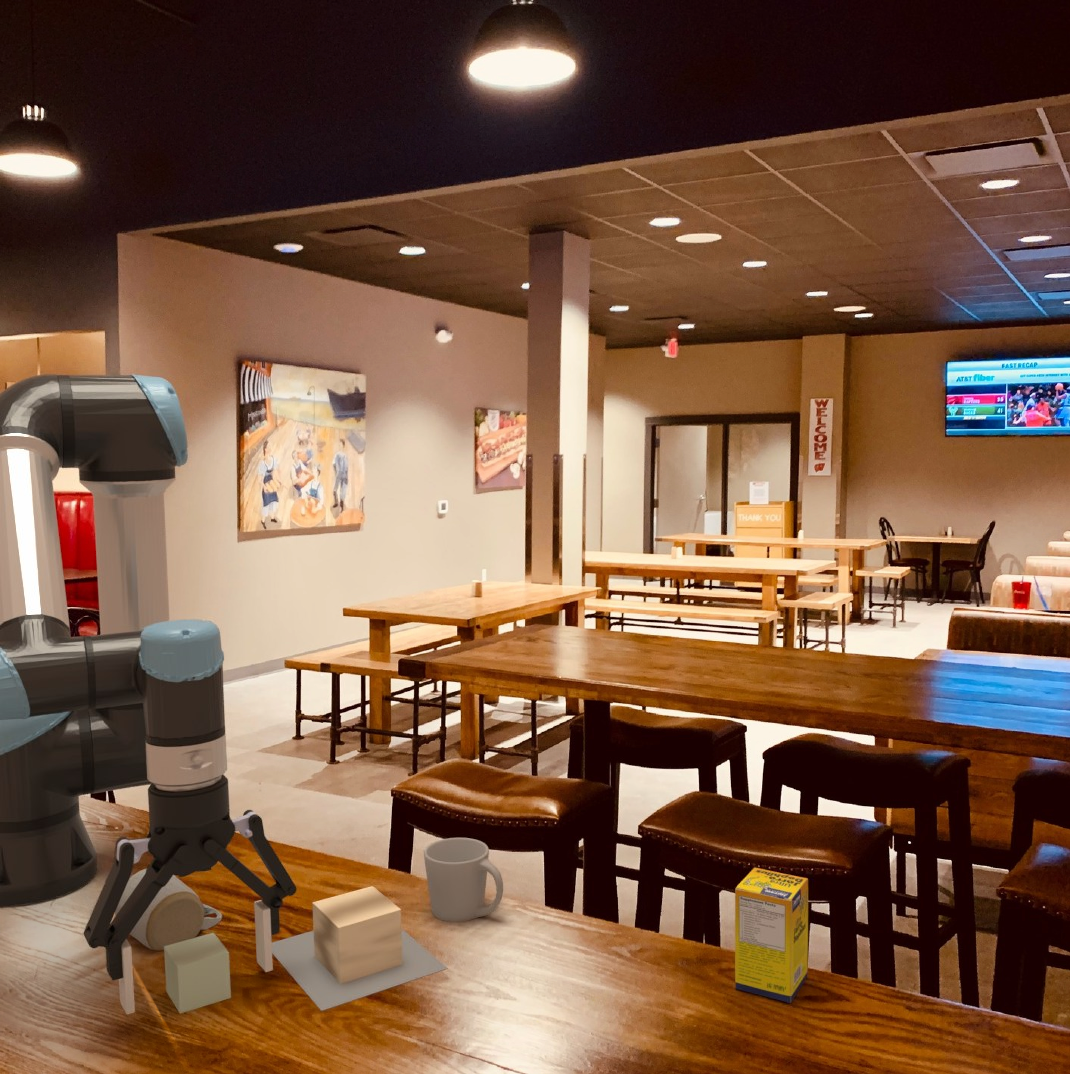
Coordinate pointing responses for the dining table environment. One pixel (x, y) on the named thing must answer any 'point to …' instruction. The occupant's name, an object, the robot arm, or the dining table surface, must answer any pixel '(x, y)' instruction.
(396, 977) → the board
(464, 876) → the cup
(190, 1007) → the sage block
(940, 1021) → the dining table surface
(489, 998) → the dining table surface
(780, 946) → the supplement box
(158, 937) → the ceramic mug
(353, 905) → the base block
